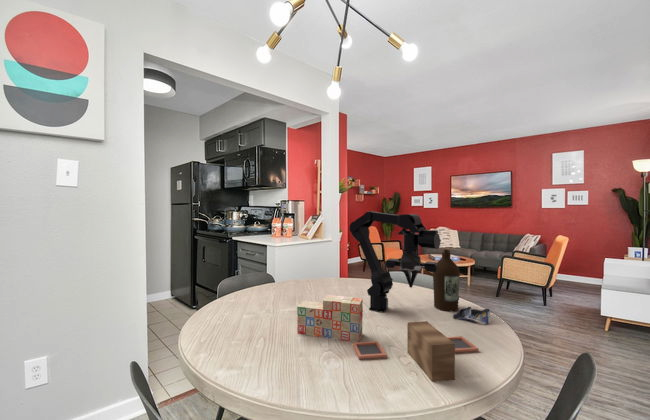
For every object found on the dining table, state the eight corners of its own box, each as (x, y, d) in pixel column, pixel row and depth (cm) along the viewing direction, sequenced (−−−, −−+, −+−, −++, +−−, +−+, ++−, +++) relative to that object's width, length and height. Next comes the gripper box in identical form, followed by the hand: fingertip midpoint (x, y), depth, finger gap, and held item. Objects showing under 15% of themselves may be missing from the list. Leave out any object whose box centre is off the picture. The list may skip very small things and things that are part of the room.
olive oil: (427, 304, 124) (427, 247, 124) (448, 302, 126) (448, 247, 126) (442, 313, 113) (443, 251, 113) (465, 311, 116) (465, 250, 116)
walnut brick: (407, 352, 82) (407, 322, 82) (426, 351, 83) (426, 321, 83) (431, 382, 68) (432, 345, 68) (454, 380, 69) (454, 343, 69)
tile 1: (352, 346, 86) (352, 342, 86) (377, 344, 87) (377, 341, 87) (359, 359, 78) (359, 356, 78) (386, 358, 79) (386, 354, 79)
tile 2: (438, 340, 89) (438, 337, 89) (461, 339, 90) (461, 336, 90) (453, 353, 81) (453, 350, 81) (478, 351, 82) (478, 348, 82)
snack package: (470, 328, 100) (496, 324, 103) (467, 310, 101) (493, 306, 104) (447, 321, 111) (472, 318, 114) (445, 304, 112) (469, 301, 115)
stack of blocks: (296, 333, 95) (296, 297, 94) (303, 326, 101) (303, 292, 100) (359, 342, 88) (359, 303, 88) (362, 334, 94) (363, 297, 94)
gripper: (381, 247, 105) (381, 289, 105) (434, 251, 96) (434, 296, 96) (389, 244, 115) (389, 282, 115) (437, 247, 106) (437, 288, 106)
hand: (410, 287), depth 108 cm, fingers closed
